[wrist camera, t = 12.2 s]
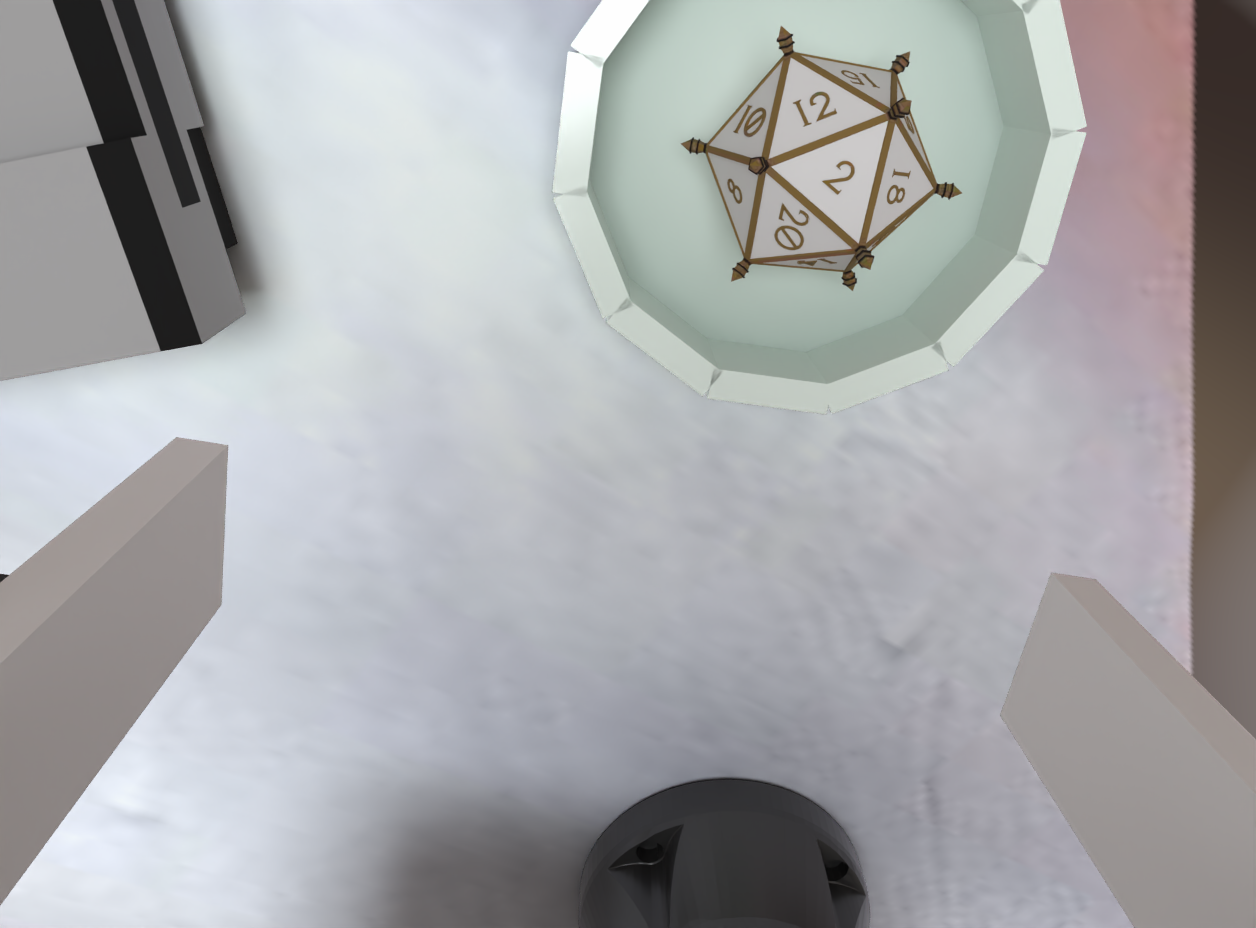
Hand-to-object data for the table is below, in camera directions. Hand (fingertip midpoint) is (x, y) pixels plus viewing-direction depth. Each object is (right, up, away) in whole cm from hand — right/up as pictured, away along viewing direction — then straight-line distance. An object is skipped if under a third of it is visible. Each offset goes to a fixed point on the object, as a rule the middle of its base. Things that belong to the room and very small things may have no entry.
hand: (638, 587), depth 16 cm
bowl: (+6, +14, +24) cm, 29 cm away
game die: (+6, +14, +23) cm, 28 cm away
